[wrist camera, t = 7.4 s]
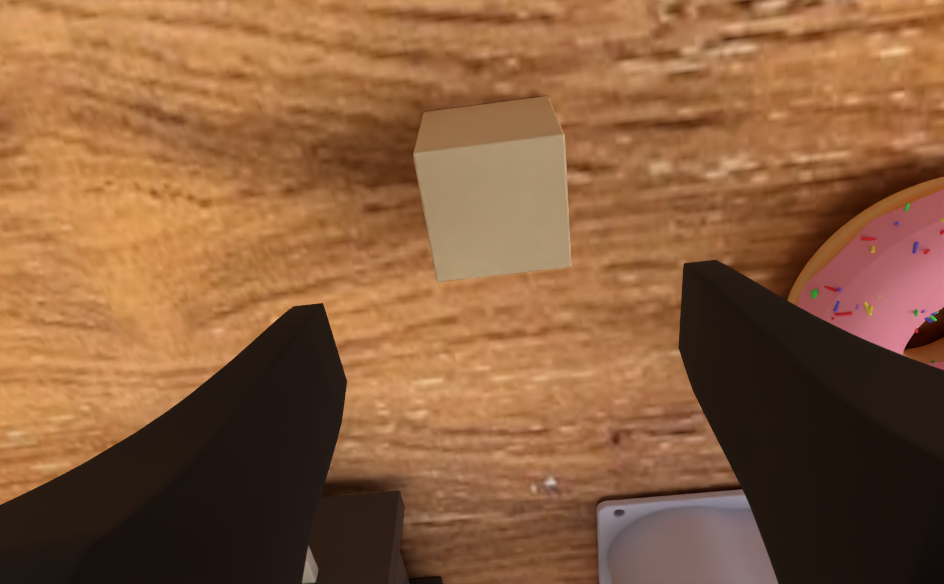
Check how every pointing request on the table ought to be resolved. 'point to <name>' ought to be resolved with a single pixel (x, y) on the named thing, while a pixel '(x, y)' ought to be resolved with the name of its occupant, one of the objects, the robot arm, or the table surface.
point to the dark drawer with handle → (357, 540)
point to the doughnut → (883, 272)
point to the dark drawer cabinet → (426, 581)
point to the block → (494, 189)
